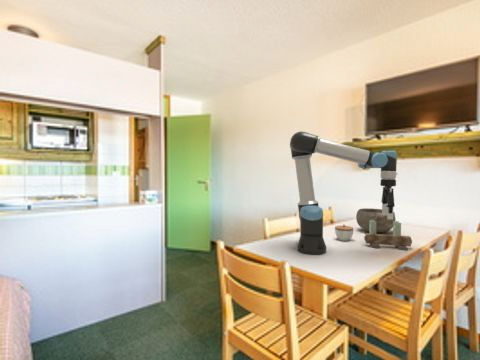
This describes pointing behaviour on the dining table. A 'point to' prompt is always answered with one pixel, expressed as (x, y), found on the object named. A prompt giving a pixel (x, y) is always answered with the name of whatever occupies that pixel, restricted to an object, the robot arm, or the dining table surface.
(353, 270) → the dining table surface
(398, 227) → the rack
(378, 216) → the bowl
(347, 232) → the lidded jar
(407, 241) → the rail
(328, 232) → the dining table surface
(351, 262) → the dining table surface
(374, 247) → the rests
